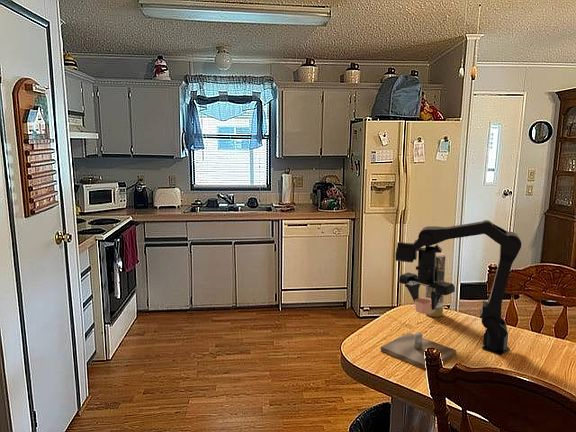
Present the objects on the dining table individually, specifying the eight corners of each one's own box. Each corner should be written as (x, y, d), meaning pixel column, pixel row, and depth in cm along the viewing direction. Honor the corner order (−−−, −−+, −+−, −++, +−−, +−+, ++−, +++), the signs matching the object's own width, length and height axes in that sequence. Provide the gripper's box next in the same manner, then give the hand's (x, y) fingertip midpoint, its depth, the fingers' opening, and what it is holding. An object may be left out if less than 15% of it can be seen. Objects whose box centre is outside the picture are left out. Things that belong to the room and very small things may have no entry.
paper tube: (443, 318, 174) (446, 256, 170) (425, 317, 175) (428, 255, 171) (441, 311, 181) (444, 252, 177) (424, 310, 182) (426, 251, 178)
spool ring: (438, 310, 155) (438, 301, 154) (427, 315, 151) (428, 305, 150) (422, 305, 160) (422, 296, 159) (411, 309, 156) (411, 300, 155)
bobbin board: (455, 354, 145) (456, 335, 144) (429, 371, 134) (429, 351, 133) (408, 336, 158) (409, 319, 157) (380, 350, 148) (381, 332, 147)
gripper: (464, 264, 151) (462, 308, 153) (416, 254, 165) (415, 294, 167) (446, 271, 144) (444, 317, 146) (398, 260, 158) (397, 302, 160)
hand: (424, 307), depth 155 cm, fingers closed on spool ring, 6 cm apart
